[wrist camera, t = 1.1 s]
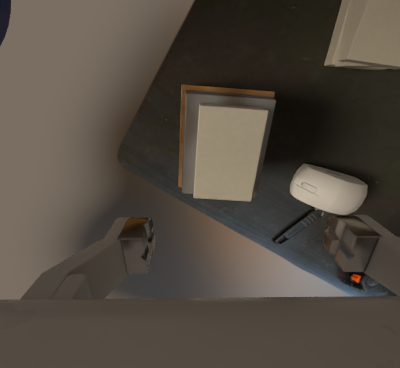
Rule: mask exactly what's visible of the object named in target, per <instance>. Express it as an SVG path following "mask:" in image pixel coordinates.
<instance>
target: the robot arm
mask: <svg viewBox="0 0 400 368" xmlns="http://www.w3.org/2000/svg"><path fill="white" fill-rule="evenodd" d="M327 225H328V227H329V228H328V229H327V230H326V231H325V232H324V236H323V241H324V245H325V248H326V249H327V251H328V252H329V253H331V254H333V255H334V256H335V261H336V262H337V263H338V265H339V266H340V267H341V268H342V270H343V271H344V272H365V274H367V275H368V276H370V277H371V278H373V279H374V280H376V281H377V282H379V283H380V284H382V285H383V286H385V287H386V288H387V289H389V290H390V291H392V292H393V293H395V294H396V295H398V296H380V297H271V298H270V297H266V298H265V297H264V298H263V297H262V298H261V297H260V298H163V299H161V298H159V299H158V298H153V299H152V298H151V299H104V298H105V297H106V296H107V295H108V294H109V293H110V292H111V291H112V290H113V289H114V288H115V287H116V286H117V285H118V284H119V283H120V282H121V281H122V280H123V279H124V278H125V277H126V276H127V274H146V273H148V270H149V266H150V263H151V258H150V256H151V255H152V254H153V252H154V247H155V235H154V233H153V232H152V228H153V220H152V218H136V217H135V218H134V217H132V218H131V217H130V218H128V217H122V218H117V219H116V221H115V222H114V224H113V226H112V227H111V229H110V230H109V232H108V233H107V235H106V237H105V238H104V240H99V241H97V242H96V243H94V244H92V245H90V246H89V247H87V248H85V249H83V250H82V251H80V252H78V253H76V254H75V255H73V256H71V257H70V258H68V259H66V260H64V261H63V262H61V263H59V264H57V265H56V266H54V267H52V268H51V269H49V270H47V271H45V272H44V273H42V274H41V276H40V277H39V278H38V279H37V280H36V281H35V282H34V284H33V285H32V286H31V287H30V289H29V290H28V291H27V292H26V293H25V294H24V295H23V297H22V298H21V299H20V300H0V368H400V237H396V236H395V235H393V234H392V233H391V232H389V231H388V230H387V229H385V228H384V227H383V226H381V225H380V224H379V223H377V222H376V221H375V220H373V219H372V218H371V217H369V216H367V215H353V216H330V218H329V219H328V222H327Z"/></svg>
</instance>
